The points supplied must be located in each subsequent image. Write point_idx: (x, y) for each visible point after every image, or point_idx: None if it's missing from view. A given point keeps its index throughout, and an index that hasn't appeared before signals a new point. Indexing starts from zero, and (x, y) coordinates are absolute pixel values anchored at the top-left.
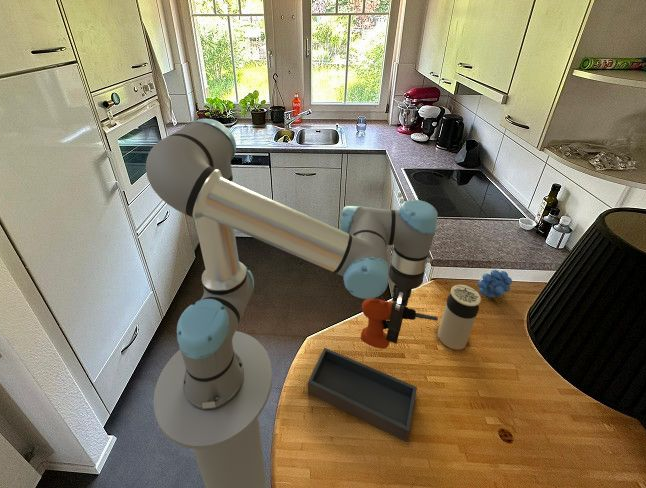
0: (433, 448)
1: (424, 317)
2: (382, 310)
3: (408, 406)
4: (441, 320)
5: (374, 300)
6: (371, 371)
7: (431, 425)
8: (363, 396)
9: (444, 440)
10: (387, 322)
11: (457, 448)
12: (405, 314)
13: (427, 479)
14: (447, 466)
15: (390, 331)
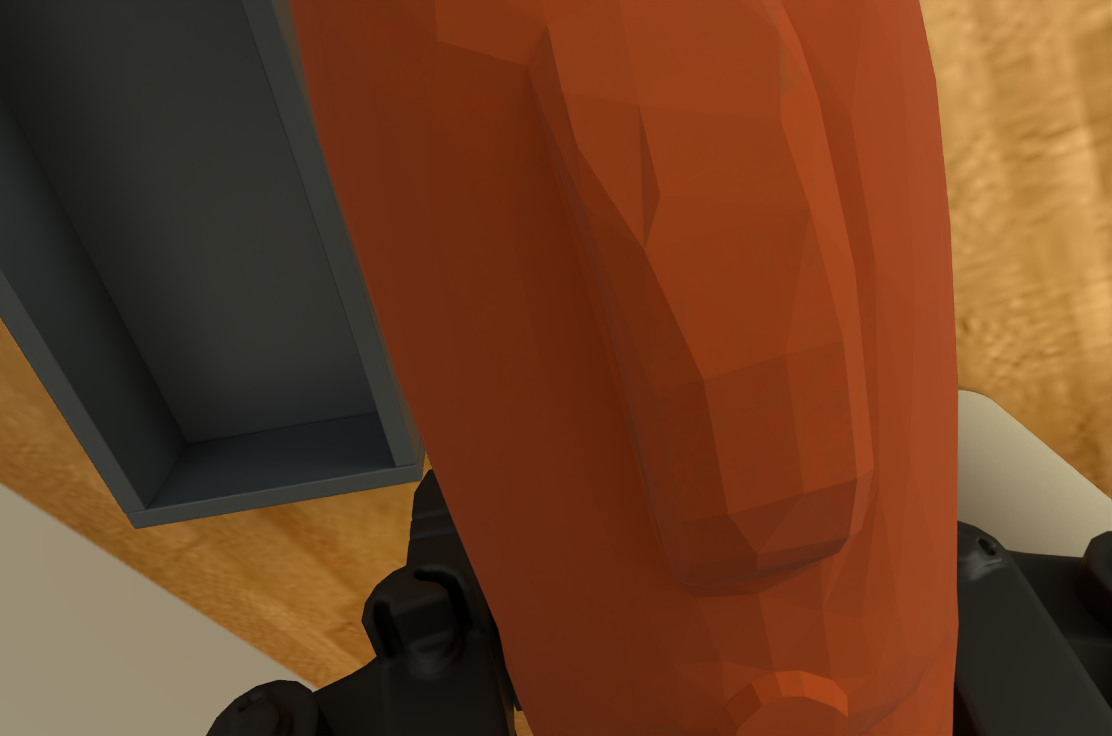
0: (263, 542)
1: None
2: (503, 639)
3: (350, 412)
4: (1015, 476)
5: (683, 460)
6: (302, 181)
7: (355, 510)
8: (180, 163)
9: (334, 562)
10: (393, 627)
11: (343, 602)
12: None
13: (125, 557)
14: (243, 594)
15: (408, 547)
